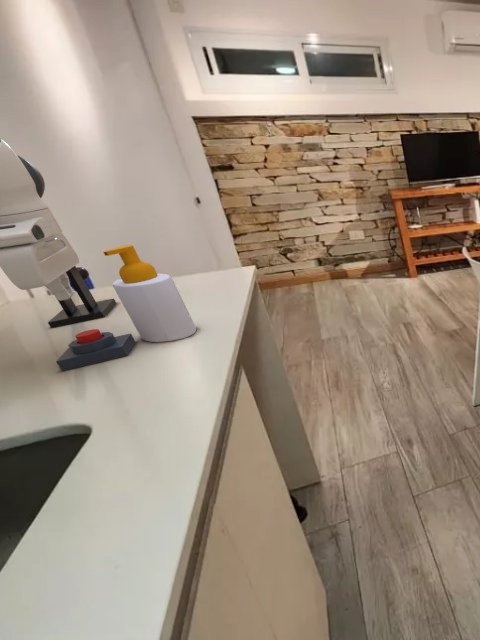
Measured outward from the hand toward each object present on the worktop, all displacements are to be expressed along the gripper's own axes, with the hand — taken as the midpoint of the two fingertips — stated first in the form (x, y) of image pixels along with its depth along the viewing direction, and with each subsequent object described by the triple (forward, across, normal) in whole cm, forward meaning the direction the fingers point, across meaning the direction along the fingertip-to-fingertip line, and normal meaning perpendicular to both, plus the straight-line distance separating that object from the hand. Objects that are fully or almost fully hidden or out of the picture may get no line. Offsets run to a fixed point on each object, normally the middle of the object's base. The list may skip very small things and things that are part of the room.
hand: (66, 298), depth 93 cm
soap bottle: (+13, -4, +11) cm, 18 cm away
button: (+9, 0, 0) cm, 9 cm away
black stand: (+13, -37, -11) cm, 41 cm away
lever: (+3, -41, -11) cm, 43 cm away
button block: (+13, 0, 0) cm, 13 cm away
